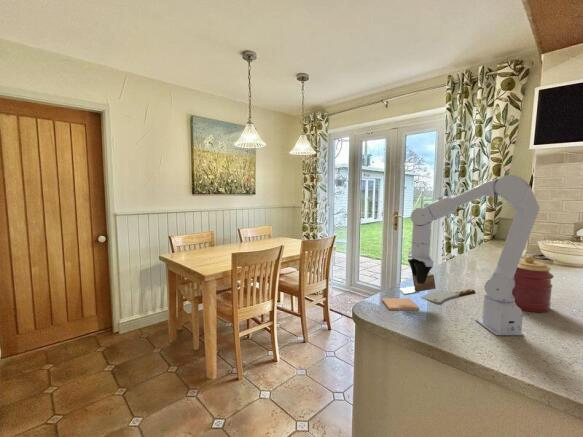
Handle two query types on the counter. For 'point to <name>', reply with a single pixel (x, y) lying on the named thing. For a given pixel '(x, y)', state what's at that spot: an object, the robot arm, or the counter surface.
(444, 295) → the kitchen cleaver
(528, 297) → the canister
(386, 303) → the tile
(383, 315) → the counter surface
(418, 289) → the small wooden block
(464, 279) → the counter surface
